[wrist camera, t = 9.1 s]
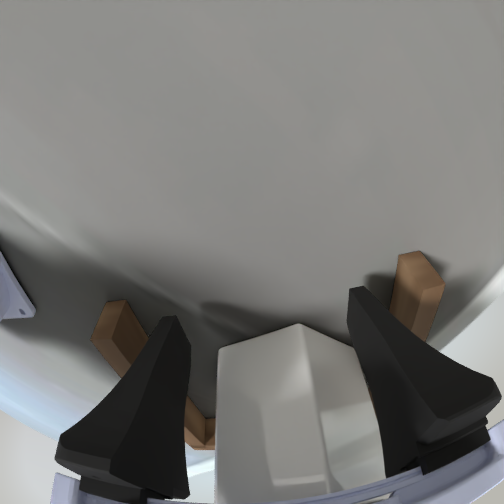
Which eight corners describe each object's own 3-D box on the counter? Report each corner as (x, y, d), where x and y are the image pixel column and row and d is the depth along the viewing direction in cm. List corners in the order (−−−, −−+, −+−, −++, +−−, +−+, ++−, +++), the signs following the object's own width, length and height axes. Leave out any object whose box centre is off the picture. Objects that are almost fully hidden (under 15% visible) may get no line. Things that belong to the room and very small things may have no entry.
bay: (196, 424, 21) (194, 449, 19) (106, 302, 13) (90, 339, 11) (377, 397, 20) (385, 422, 18) (419, 250, 12) (445, 283, 10)
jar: (325, 399, 19) (350, 543, 9) (215, 401, 19) (214, 558, 9) (371, 320, 14) (439, 532, 4) (217, 317, 14) (211, 582, 4)
